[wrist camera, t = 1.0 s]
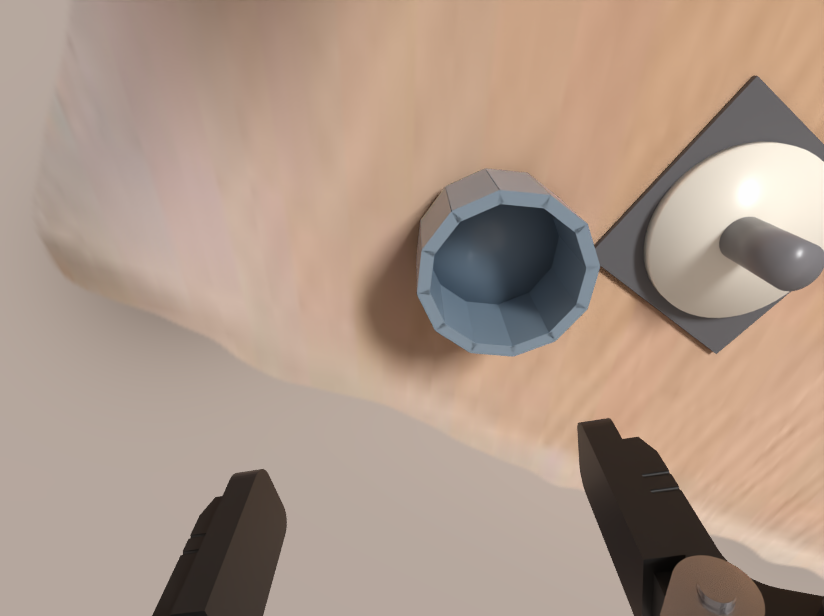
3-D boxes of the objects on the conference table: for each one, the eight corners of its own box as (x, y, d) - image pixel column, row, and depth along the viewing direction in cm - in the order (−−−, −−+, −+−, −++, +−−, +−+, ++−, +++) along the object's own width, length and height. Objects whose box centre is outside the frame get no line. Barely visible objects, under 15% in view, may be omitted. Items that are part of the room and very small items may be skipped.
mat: (753, 75, 31) (757, 75, 30) (882, 209, 34) (887, 210, 34) (586, 254, 36) (587, 256, 36) (713, 351, 40) (716, 353, 40)
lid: (754, 99, 31) (832, 108, 25) (866, 213, 34) (958, 243, 28) (607, 253, 36) (644, 290, 30) (718, 339, 39) (771, 387, 33)
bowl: (480, 135, 32) (496, 152, 26) (595, 226, 35) (635, 261, 29) (389, 258, 36) (384, 299, 30) (499, 331, 39) (515, 381, 33)
